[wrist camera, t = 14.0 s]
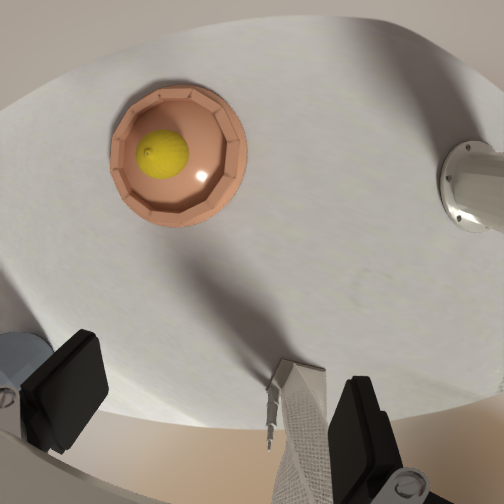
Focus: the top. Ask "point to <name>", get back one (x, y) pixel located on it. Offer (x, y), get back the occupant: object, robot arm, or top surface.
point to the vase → (21, 357)
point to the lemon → (162, 154)
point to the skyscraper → (301, 434)
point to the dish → (199, 163)
